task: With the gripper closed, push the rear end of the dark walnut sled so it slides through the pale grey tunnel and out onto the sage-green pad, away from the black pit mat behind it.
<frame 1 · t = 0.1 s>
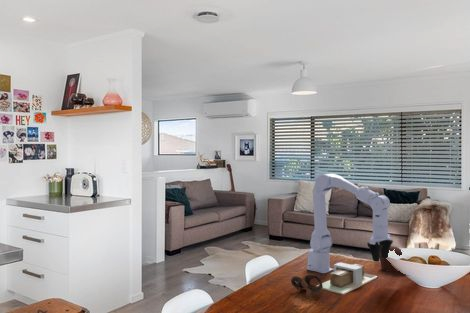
hand: (380, 259, 158), 10 cm above the table, tool pointing down, fingers open, 7 cm apart
tunnel: (346, 282, 160), on the table
muffin: (392, 269, 179), on the table
sled: (347, 274, 161), point 3 cm above the table, slide at 0.0 cm
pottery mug: (306, 293, 149), on the table
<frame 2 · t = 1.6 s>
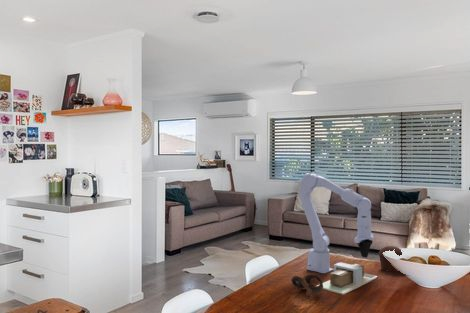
hand: (364, 256, 171), 8 cm above the table, tool pointing down, fingers closed
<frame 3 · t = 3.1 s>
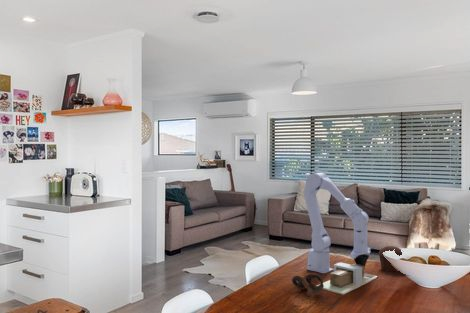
hand: (360, 271, 169), 2 cm above the table, tool pointing down, fingers closed
sled: (347, 274, 161), point 3 cm above the table, slide at 0.0 cm, touching gripper
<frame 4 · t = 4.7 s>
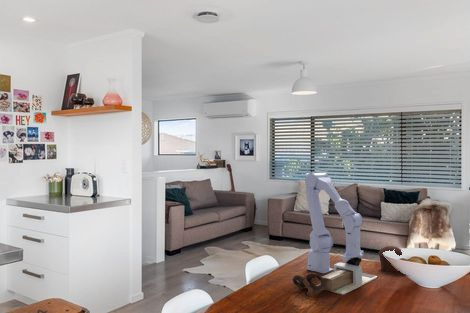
hand: (353, 275, 164), 2 cm above the table, tool pointing down, fingers closed
sled: (339, 278, 156), point 3 cm above the table, slide at 6.6 cm, touching gripper
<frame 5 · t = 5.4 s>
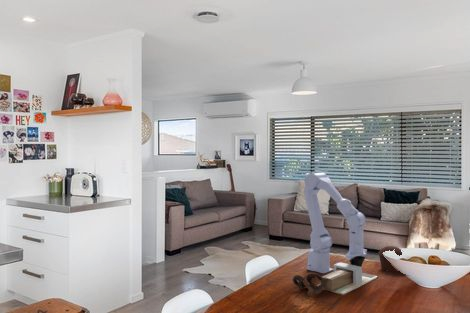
hand: (356, 273, 166), 2 cm above the table, tool pointing down, fingers closed
sled: (339, 278, 156), point 3 cm above the table, slide at 6.5 cm, touching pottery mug
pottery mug: (308, 292, 150), on the table, touching sled
everything else where it was.
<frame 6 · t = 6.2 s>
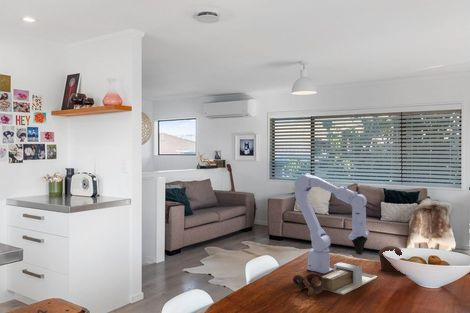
hand: (359, 254, 169), 9 cm above the table, tool pointing down, fingers closed
sled: (339, 278, 156), point 3 cm above the table, slide at 6.3 cm
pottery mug: (308, 292, 150), on the table
everything else where it was.
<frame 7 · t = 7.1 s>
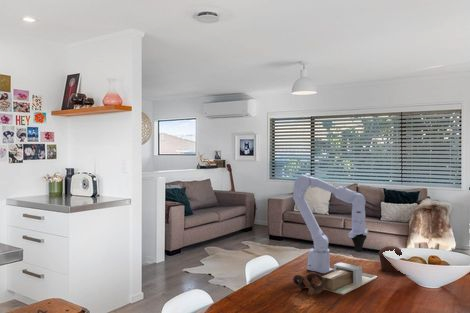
hand: (358, 251, 173), 9 cm above the table, tool pointing down, fingers closed
nothing on the table moved.
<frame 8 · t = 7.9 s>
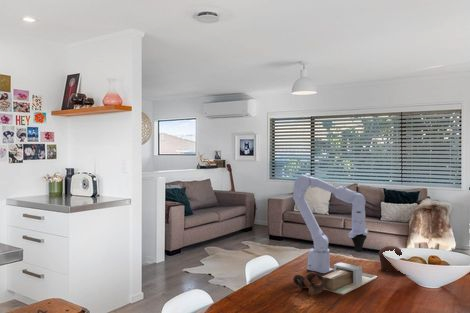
hand: (358, 251, 173), 9 cm above the table, tool pointing down, fingers closed
sled: (340, 277, 156), point 3 cm above the table, slide at 6.0 cm, touching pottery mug
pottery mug: (308, 292, 151), on the table, touching sled
everything else where it was.
at the end: sled slide at 6.0 cm; sled touching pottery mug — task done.
